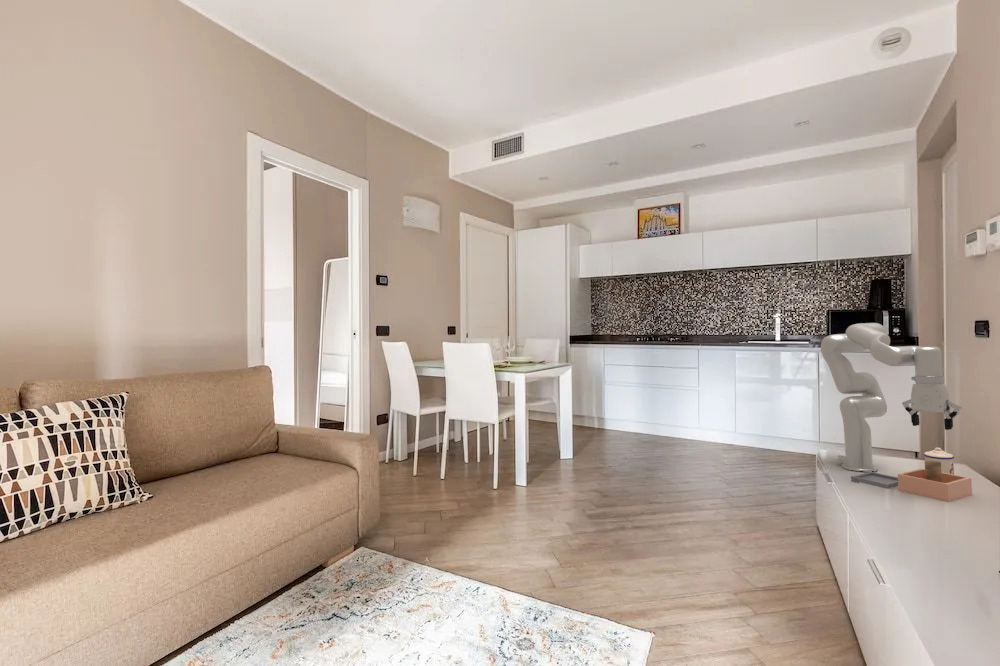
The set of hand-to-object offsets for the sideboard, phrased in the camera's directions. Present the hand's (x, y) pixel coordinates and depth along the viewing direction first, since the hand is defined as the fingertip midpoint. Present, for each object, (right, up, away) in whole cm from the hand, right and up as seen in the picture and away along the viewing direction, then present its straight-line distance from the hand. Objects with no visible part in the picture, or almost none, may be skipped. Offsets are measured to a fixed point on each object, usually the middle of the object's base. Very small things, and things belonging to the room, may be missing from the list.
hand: (931, 427), depth 175 cm
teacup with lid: (+21, -24, +20) cm, 38 cm away
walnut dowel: (+1, -24, 0) cm, 24 cm away
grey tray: (-8, -25, +15) cm, 30 cm away
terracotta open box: (+1, -24, 0) cm, 24 cm away
